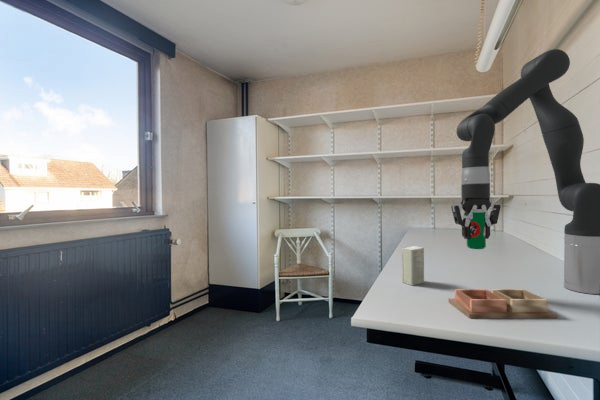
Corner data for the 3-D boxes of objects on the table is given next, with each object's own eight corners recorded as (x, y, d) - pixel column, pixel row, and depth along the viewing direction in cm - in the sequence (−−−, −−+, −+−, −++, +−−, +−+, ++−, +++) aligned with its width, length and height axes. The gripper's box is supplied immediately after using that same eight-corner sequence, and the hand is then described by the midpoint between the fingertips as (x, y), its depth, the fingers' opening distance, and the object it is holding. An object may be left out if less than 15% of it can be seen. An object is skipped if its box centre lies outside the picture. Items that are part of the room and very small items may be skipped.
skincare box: (414, 279, 108) (414, 245, 107) (424, 283, 104) (424, 247, 104) (401, 282, 105) (401, 247, 104) (411, 286, 101) (411, 249, 100)
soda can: (488, 249, 89) (488, 209, 89) (469, 249, 90) (469, 209, 90) (482, 246, 94) (481, 208, 94) (464, 246, 95) (463, 208, 95)
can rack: (524, 301, 85) (524, 287, 85) (556, 318, 74) (556, 301, 74) (448, 302, 86) (448, 287, 86) (469, 318, 75) (469, 302, 75)
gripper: (491, 182, 96) (492, 236, 96) (445, 183, 96) (446, 237, 96) (507, 181, 88) (508, 240, 88) (457, 182, 88) (458, 241, 89)
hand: (475, 238), depth 92 cm, fingers closed on soda can, 5 cm apart
